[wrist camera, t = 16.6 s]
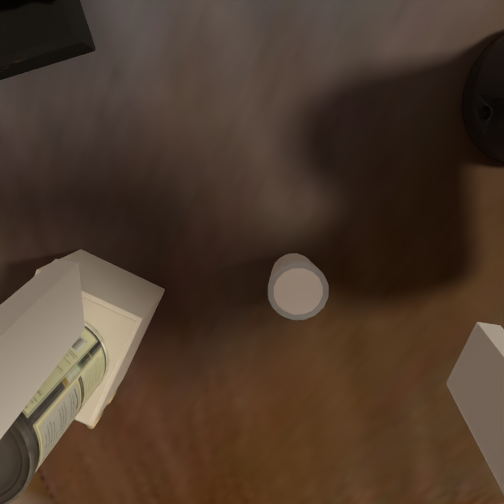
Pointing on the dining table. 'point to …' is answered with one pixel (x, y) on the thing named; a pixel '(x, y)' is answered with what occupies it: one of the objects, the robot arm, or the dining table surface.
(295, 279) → the shot glass
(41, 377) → the robot arm
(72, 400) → the coffee can
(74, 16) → the coral
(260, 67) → the dining table surface
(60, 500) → the dining table surface
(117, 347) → the cabinet
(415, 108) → the dining table surface
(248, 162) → the dining table surface
